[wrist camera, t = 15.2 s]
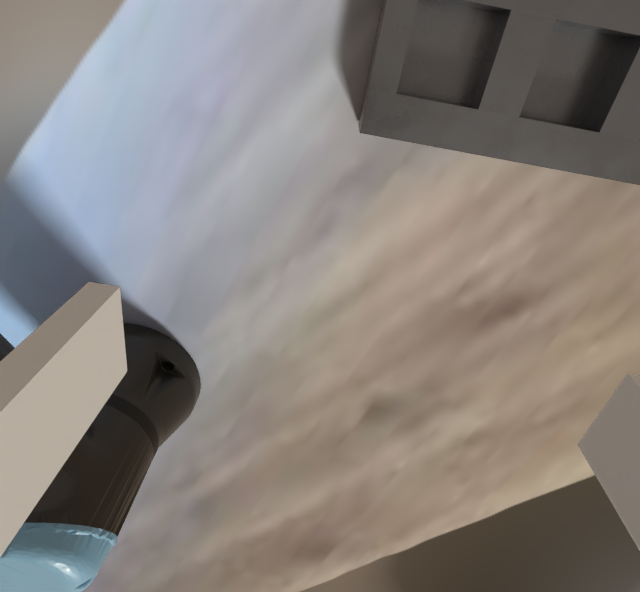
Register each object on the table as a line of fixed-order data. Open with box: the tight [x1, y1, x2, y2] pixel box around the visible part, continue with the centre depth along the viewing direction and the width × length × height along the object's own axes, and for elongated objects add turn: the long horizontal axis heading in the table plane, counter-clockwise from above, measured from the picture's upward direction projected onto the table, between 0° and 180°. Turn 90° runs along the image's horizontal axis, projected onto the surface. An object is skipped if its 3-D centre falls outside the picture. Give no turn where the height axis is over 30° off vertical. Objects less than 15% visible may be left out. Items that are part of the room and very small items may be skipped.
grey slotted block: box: [359, 0, 640, 185], centre depth 31 cm, size 28×12×4 cm, turn 81°
